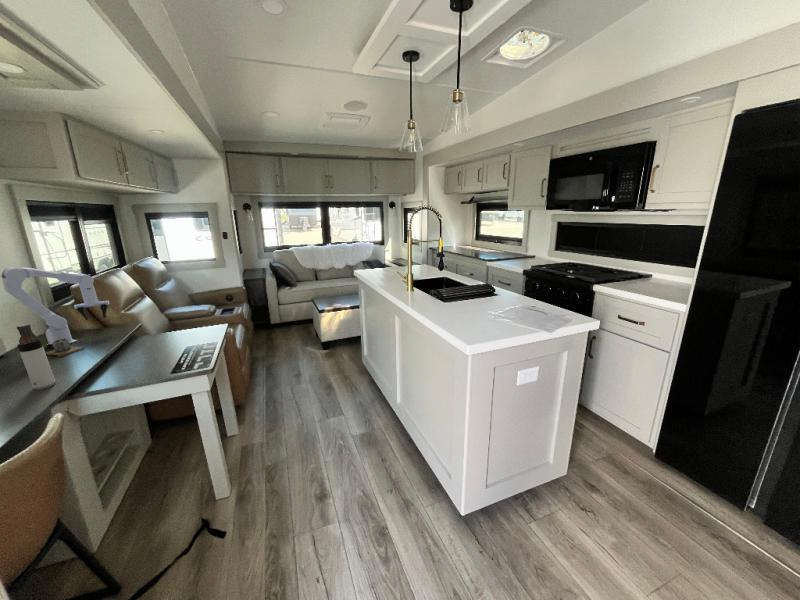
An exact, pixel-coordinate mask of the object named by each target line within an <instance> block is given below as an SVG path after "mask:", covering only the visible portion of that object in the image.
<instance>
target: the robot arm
mask: <svg viewBox="0 0 800 600" xmlns="http://www.w3.org/2000/svg"><path fill="white" fill-rule="evenodd" d="M0 277H1V280H2V284H3V288H4V291H6V293H8V294H9V295H11V296H12V297H13V298H14V299H16V300H17V301H18V302H20V303H22V304H23V305H24V306H26V307H27V308H28V309H30V310H31V311H32V312H34V313H35V314H36V315H38V316H39V317H40V318H41V319H43V321H44V323H45V324H46V325H47V326H49V327H48V329H46V331H45V336H46V340H47V342H48V344H53V341H56V340H59V339H69V342H70V344H72V343H75V342H78V339H73V338H72V335H71V331H70V328H69V325H68V320H67V318H65V317H63V316H60V315H58V314H56V313H55V312H53V311H51V309H49V308H47V307H46V306H45V305H43V303H41V302H40V301H39V300H38V299H36V298H34V297H33V296H32V295H30V294H29V293H28V292H27V291H25V290H24V289H23V288H22V287H23V282H25V280H26V279H27V278H28V279H31V278H33V277H41V278H42V277H43V278H50V279H57V280H58V281H59V282H60V283H61V282H62V283H68V284H78V286H79V290H80V293H81V295H82V296H81V297H82V299H83V303H79V304H74V305H73V307H74V309H76V310H77V311H78V313H80V314H81V315H82V317H84V319H85V321H89V319H90V318H89V315H88V312H87V311H88V310H87V308H91V307H98V306H99V308H100V310H101V313H102V317H103V318H105V319H106V317H107V309H108V306H109V305H110V300H102V301H101V300H98V295H97V292H96V289H95V286H94V281H95V279H94V278H93V277H92V276H91V275H90V274H89V275H88V274H85V273H82V272H78V273H77V272H71V271H70V270H61V271H59V272H54V271H50V270H45V269H44V270H43V269H39V268H38V269H37V268H32V267H17V266H16V267H15V266H8V267H5V268H4V269H3V270H2V272H1V276H0Z"/></svg>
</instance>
